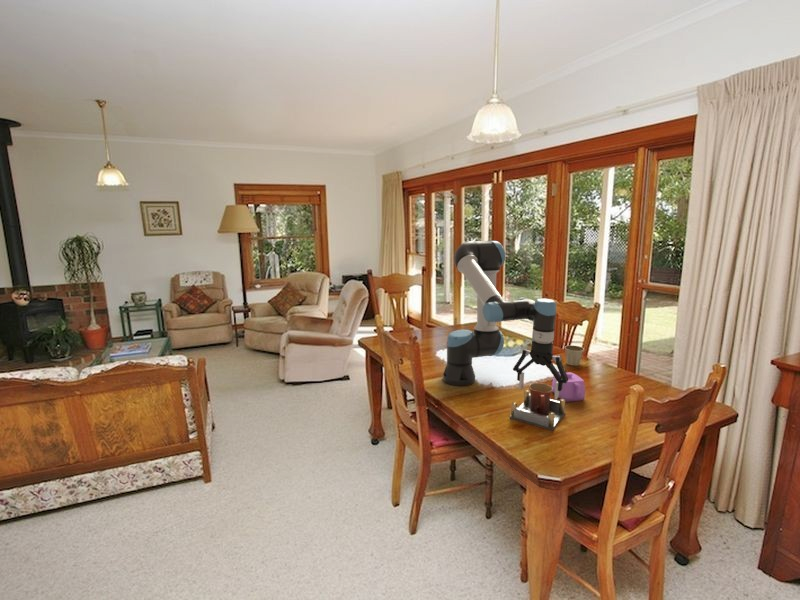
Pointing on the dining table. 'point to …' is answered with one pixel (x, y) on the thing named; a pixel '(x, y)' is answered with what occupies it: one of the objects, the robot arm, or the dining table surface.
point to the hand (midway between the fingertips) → (538, 393)
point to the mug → (540, 398)
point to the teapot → (571, 388)
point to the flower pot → (573, 354)
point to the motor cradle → (537, 419)
